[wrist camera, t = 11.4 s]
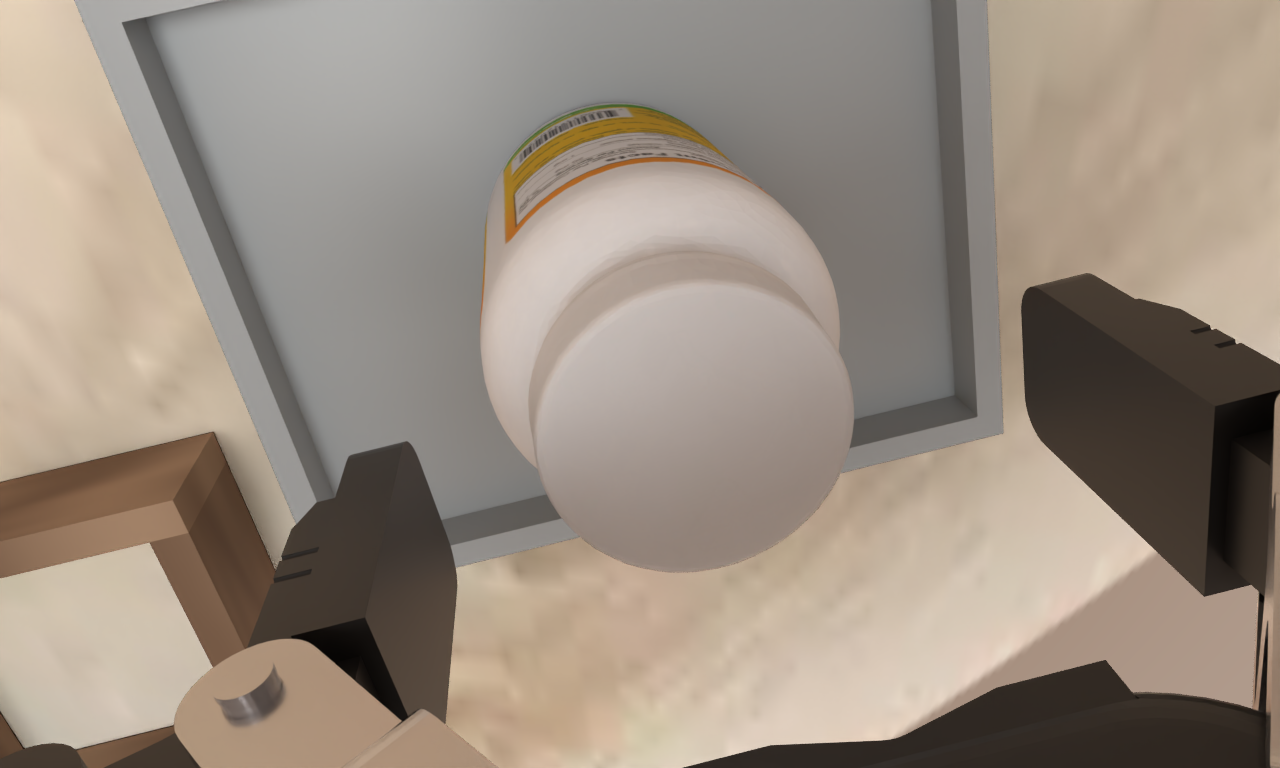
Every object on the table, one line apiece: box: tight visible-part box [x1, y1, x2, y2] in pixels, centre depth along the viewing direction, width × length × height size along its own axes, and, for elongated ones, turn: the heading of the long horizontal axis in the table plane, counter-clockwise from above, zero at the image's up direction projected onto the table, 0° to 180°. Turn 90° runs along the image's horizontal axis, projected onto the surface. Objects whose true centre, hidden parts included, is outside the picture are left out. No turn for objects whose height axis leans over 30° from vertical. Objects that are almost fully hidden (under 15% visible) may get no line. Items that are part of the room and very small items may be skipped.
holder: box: [0, 432, 275, 768], centre depth 22 cm, size 9×9×3 cm
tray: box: [74, 0, 1003, 568], centre depth 20 cm, size 16×13×2 cm
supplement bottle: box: [480, 103, 854, 572], centre depth 16 cm, size 5×5×10 cm
